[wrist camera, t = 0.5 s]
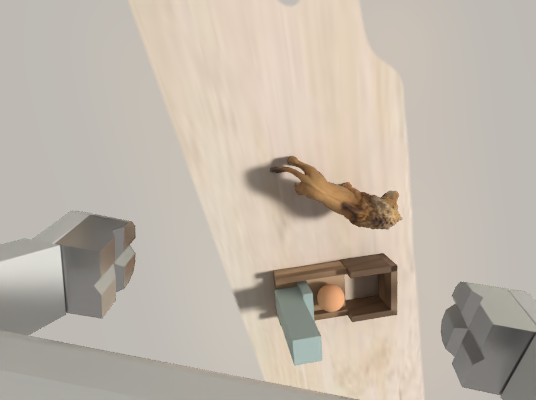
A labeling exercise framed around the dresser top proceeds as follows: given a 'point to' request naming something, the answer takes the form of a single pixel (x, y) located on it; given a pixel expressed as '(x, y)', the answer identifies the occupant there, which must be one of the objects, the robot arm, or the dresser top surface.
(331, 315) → the lane
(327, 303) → the ball
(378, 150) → the dresser top surface
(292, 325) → the grey-green l-shaped block
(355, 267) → the dark brown open box
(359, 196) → the lion figurine
